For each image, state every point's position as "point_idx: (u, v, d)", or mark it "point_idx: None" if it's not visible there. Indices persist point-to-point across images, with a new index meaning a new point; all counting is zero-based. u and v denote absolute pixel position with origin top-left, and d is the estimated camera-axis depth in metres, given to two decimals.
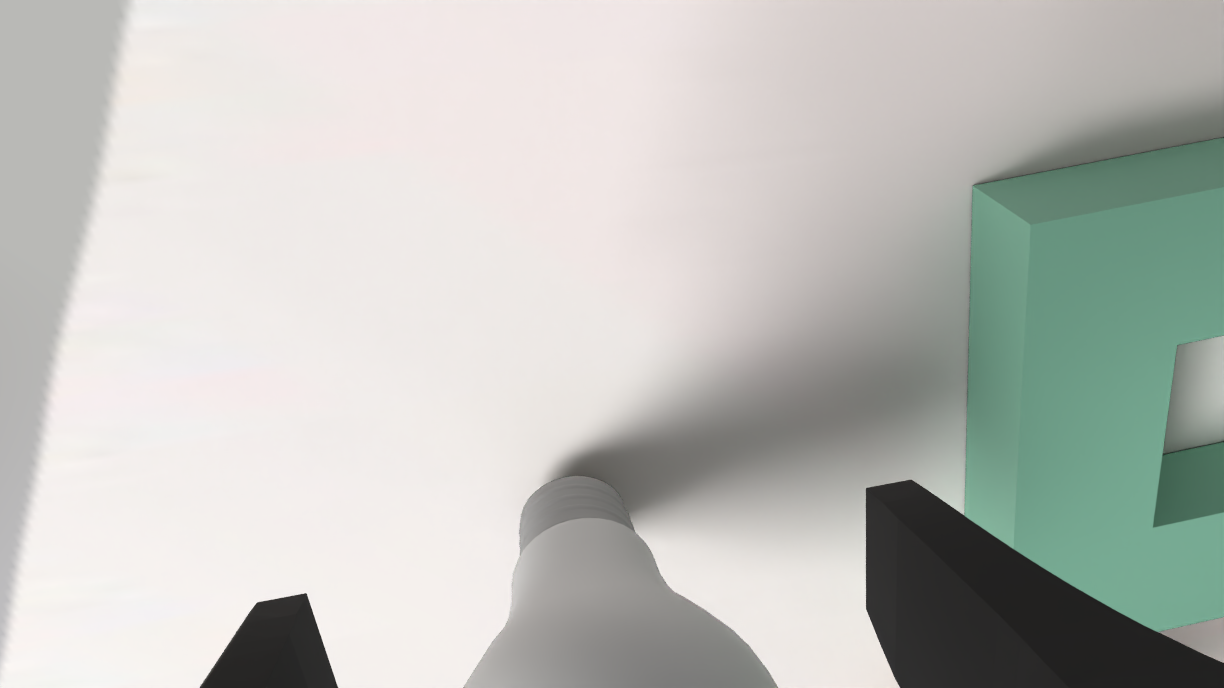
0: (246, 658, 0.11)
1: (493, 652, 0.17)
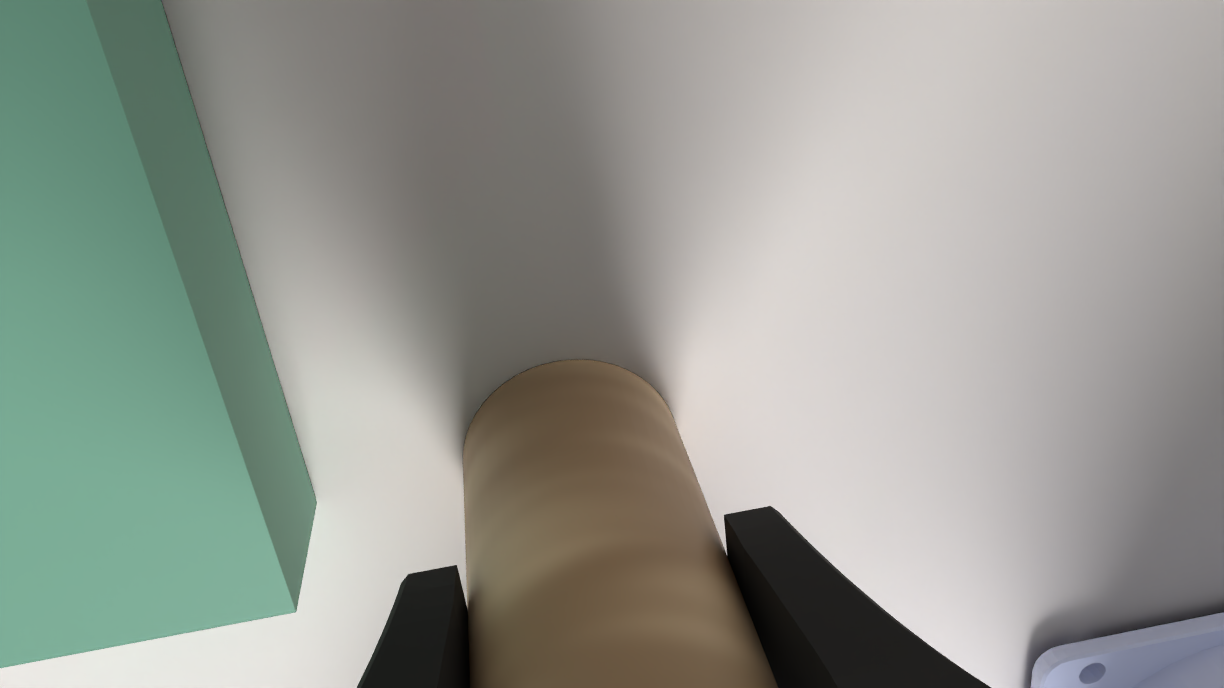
0: (415, 625, 0.11)
1: None
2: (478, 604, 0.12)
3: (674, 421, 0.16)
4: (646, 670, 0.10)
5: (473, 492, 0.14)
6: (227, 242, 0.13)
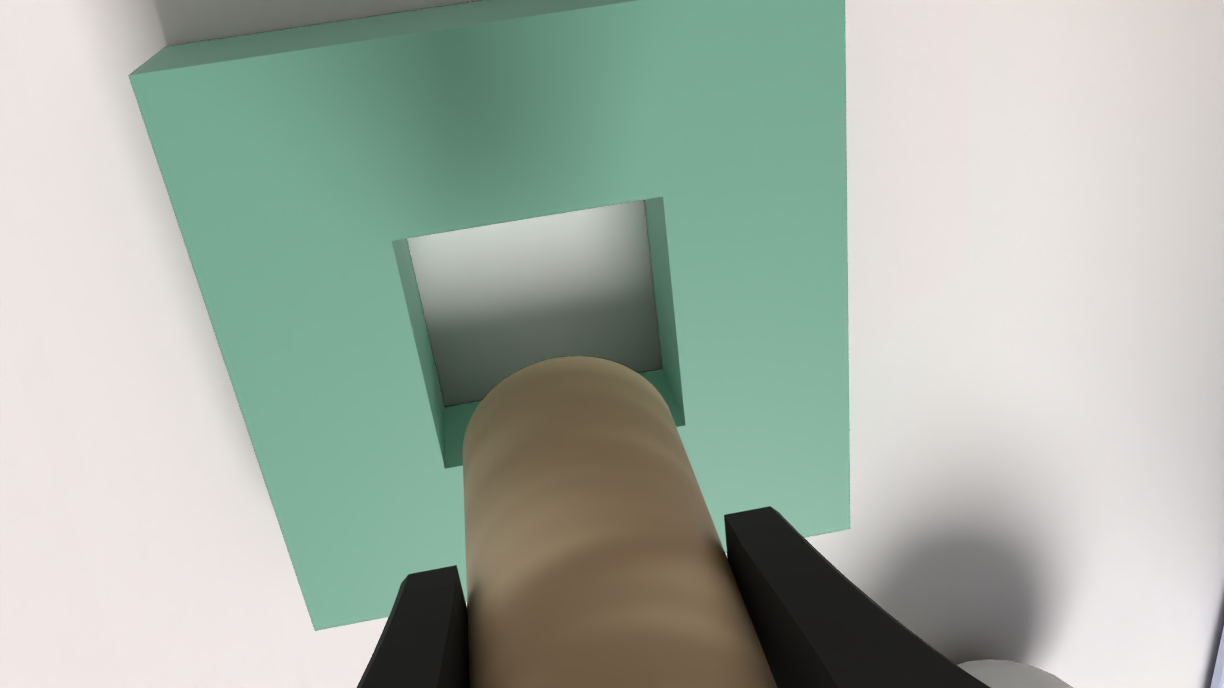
0: (415, 626, 0.11)
1: None
2: (475, 602, 0.12)
3: (670, 413, 0.16)
4: (637, 662, 0.10)
5: (470, 491, 0.14)
6: None
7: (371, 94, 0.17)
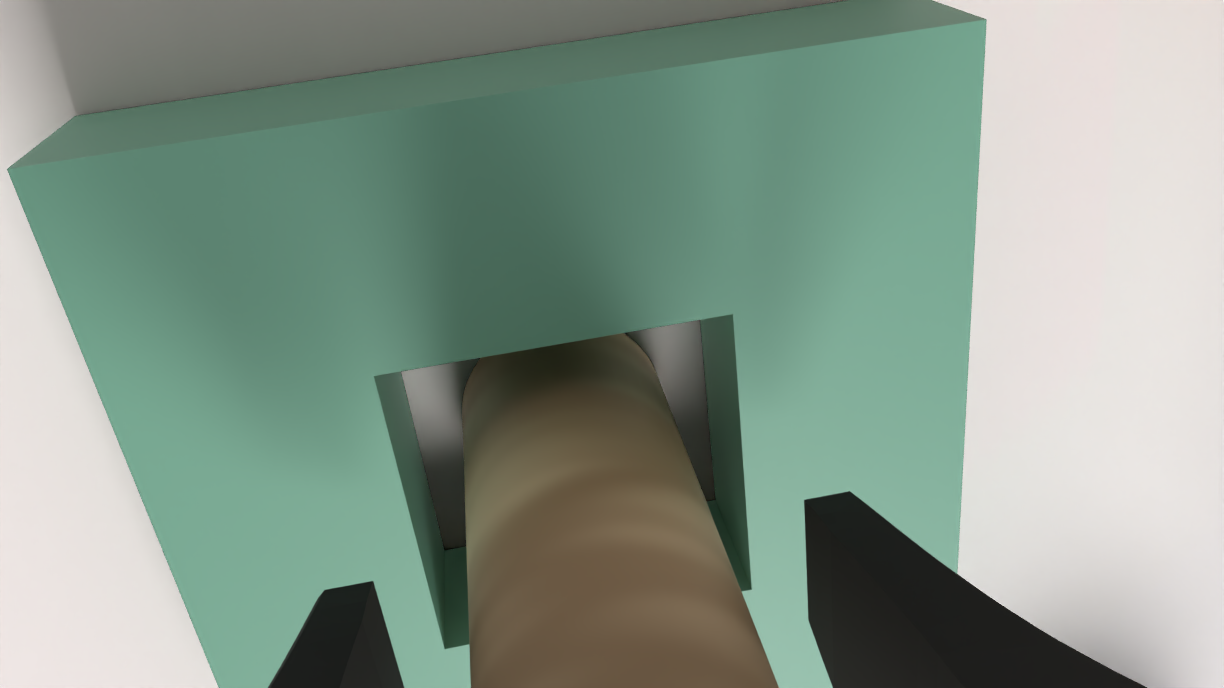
0: (321, 644, 0.11)
1: None
2: (473, 530, 0.13)
3: None
4: (616, 569, 0.11)
5: (469, 438, 0.15)
6: None
7: (344, 189, 0.13)
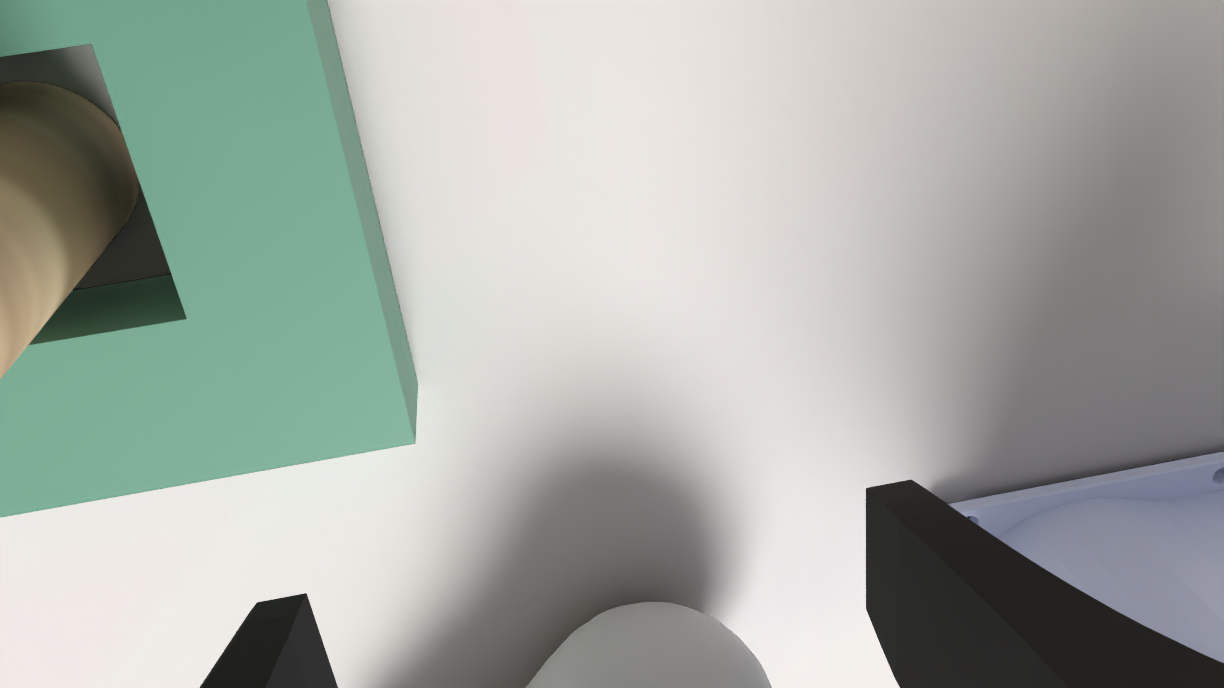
0: (246, 658, 0.11)
1: None
2: None
3: (116, 134, 0.19)
4: None
5: None
6: (372, 201, 0.20)
7: None
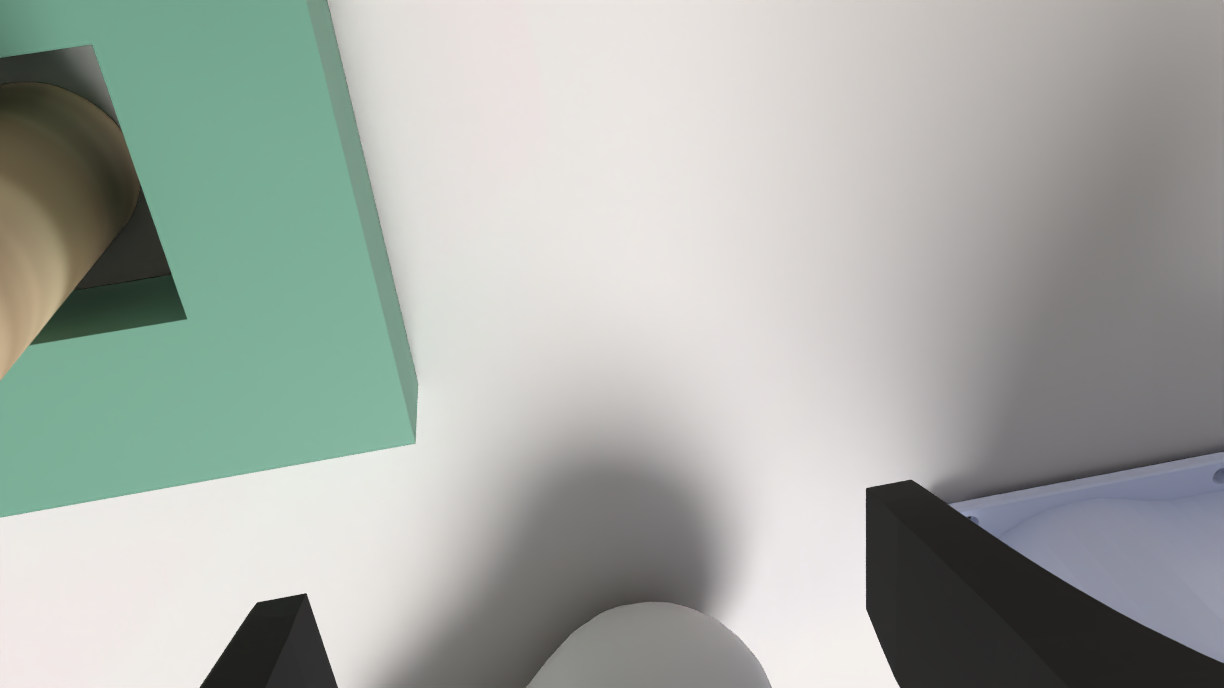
0: (246, 658, 0.11)
1: None
2: None
3: (117, 134, 0.19)
4: None
5: None
6: (372, 201, 0.20)
7: None
